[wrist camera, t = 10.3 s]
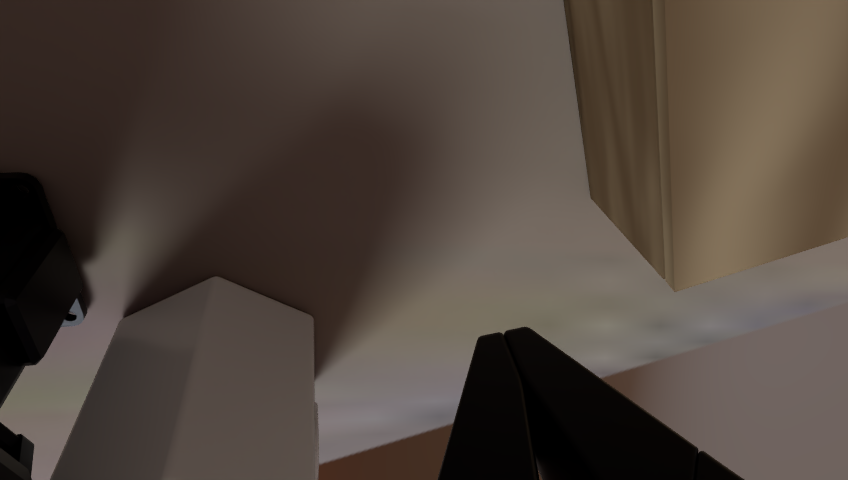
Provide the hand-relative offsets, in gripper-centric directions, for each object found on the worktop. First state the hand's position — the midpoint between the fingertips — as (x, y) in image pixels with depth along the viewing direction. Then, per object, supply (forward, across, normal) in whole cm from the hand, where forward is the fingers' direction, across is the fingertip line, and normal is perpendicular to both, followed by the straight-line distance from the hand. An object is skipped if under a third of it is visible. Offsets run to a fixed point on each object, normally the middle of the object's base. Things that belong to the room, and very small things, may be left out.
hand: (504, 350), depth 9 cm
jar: (+12, -11, -10) cm, 19 cm away
